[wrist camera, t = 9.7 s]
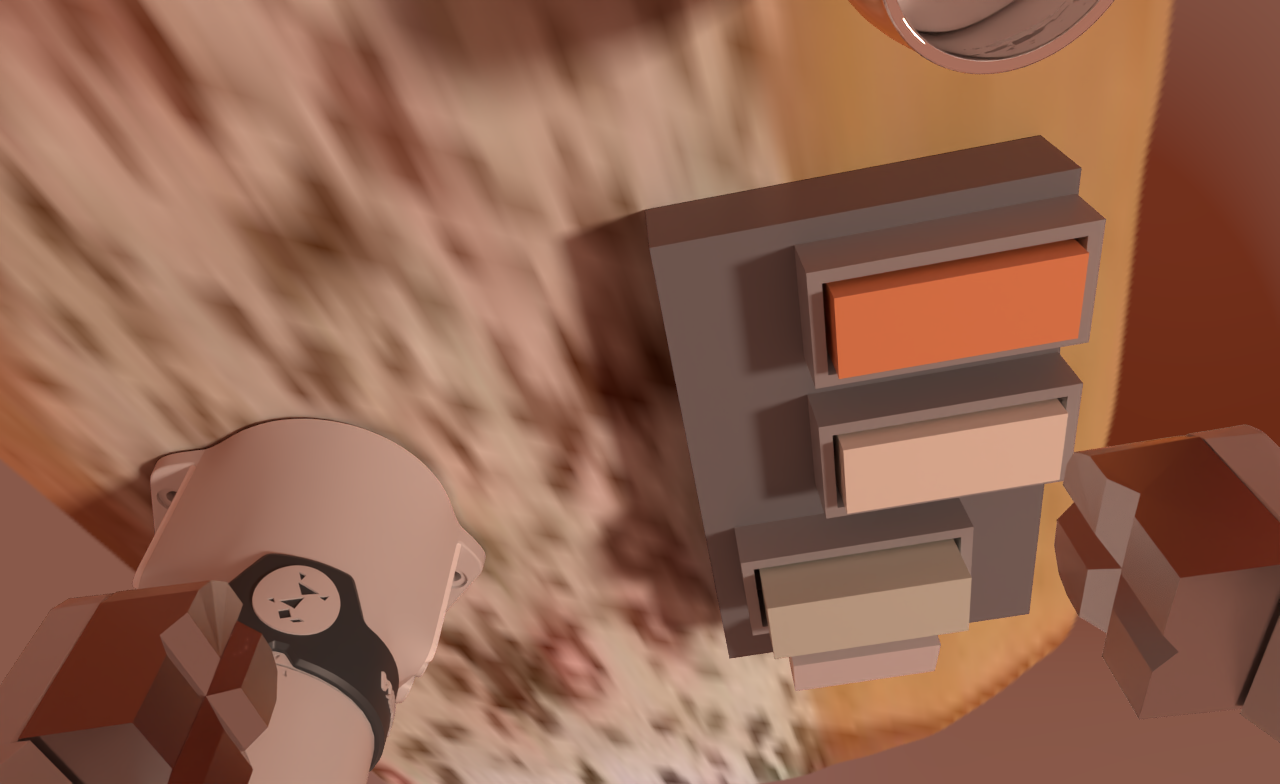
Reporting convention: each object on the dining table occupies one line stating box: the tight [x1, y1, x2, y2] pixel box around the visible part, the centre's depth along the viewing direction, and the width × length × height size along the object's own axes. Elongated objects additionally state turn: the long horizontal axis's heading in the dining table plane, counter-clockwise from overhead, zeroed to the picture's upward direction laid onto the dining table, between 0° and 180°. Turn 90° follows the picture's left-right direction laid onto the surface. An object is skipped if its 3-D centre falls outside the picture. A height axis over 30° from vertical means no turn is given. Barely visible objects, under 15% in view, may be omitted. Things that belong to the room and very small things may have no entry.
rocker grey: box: [789, 635, 941, 691], centre depth 49 cm, size 4×8×2 cm, turn 101°
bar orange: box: [822, 239, 1089, 379], centre depth 37 cm, size 4×10×3 cm, turn 100°
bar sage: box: [759, 538, 972, 659], centre depth 45 cm, size 4×10×3 cm, turn 100°
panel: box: [645, 135, 1106, 658], centre depth 45 cm, size 28×18×7 cm, turn 10°
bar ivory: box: [833, 398, 1068, 514], centre depth 41 cm, size 4×10×3 cm, turn 100°
